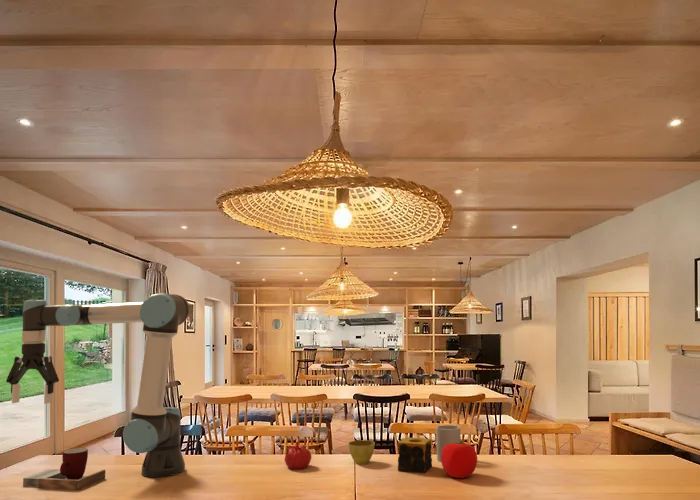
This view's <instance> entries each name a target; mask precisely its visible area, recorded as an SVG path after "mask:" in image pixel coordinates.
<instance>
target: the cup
mask: <svg viewBox="0 0 700 500" xmlns="http://www.w3.org/2000/svg"><path fill="white" fill-rule="evenodd" d="M435 438H436V440H435V441H436V458H437V459H436V460H437V461H438V462H441V453H442V450H443V448H444V446H446V445H447V444H450V443H460V441H462V440H461V439H462V438H461V427H460V426H458V425H453V424H444V425H443V424H442V425H437V426H436V427H435ZM441 463H442V462H441Z"/></svg>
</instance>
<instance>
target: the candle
mask: <svg viewBox="0 0 700 500" xmlns="http://www.w3.org/2000/svg"><path fill="white" fill-rule="evenodd" d="M397 447H398V448H397V449H398V459H397V471H398V472H404V473H405V472H407V473H418V474H426V473H427V472H428V471H429V470H430V469H431V468H432V467H433V464H432V463H433V458H432V439H431V438H423V437H407V436H406V437H404V438H403V439H401V440H399V441H398V442H397Z"/></svg>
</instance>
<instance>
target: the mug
mask: <svg viewBox="0 0 700 500" xmlns="http://www.w3.org/2000/svg"><path fill="white" fill-rule="evenodd" d="M88 456H89V449H88V448H86V447H85V448H84V447H79V448H70V449H66V450H63V451H62V459H61V460H62V463H61V465H60V467H59V470H60V473H61V475H63V476H66V478H67V479H73V480H79V479H81V478H82V476H84V474H85V471H86V467H87V463H88V458H89V457H88Z"/></svg>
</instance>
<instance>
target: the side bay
mask: <svg viewBox="0 0 700 500" xmlns="http://www.w3.org/2000/svg"><path fill="white" fill-rule="evenodd" d="M105 479H106V469H100V470H99V471H96V472H94V473H92V474H88V475H83V476H82V478H81V479H79V480H73V479H67V478H66V476H63V475H61V473H60V468H59V469H58V468H57V469H56V468H54V469H53V468H47V469H44V470H42V471H39V472H36V473H34V474H30V475H29V476H25V477H23V479H22V486H24V487H38V489H51V490H68V491H81V490H83V489H84V488H86V487H90V486H91V485H93V484H96V483H98V482H100V481H103V480H105Z"/></svg>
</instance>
